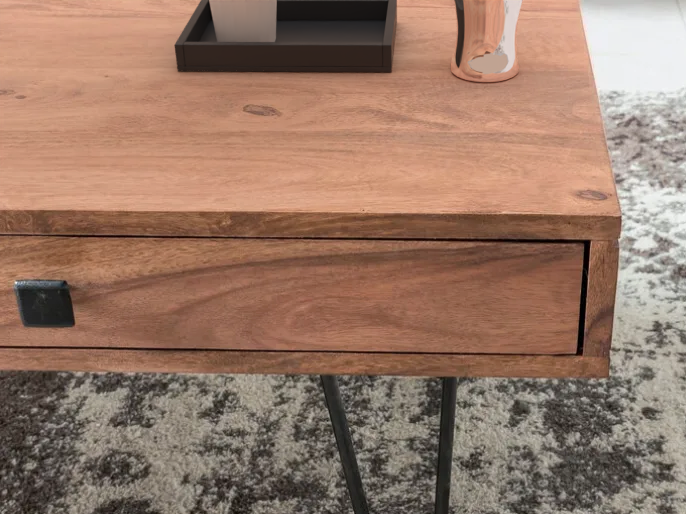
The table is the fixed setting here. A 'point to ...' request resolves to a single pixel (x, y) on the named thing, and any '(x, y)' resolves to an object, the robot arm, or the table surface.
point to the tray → (298, 39)
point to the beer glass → (486, 40)
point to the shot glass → (244, 20)
